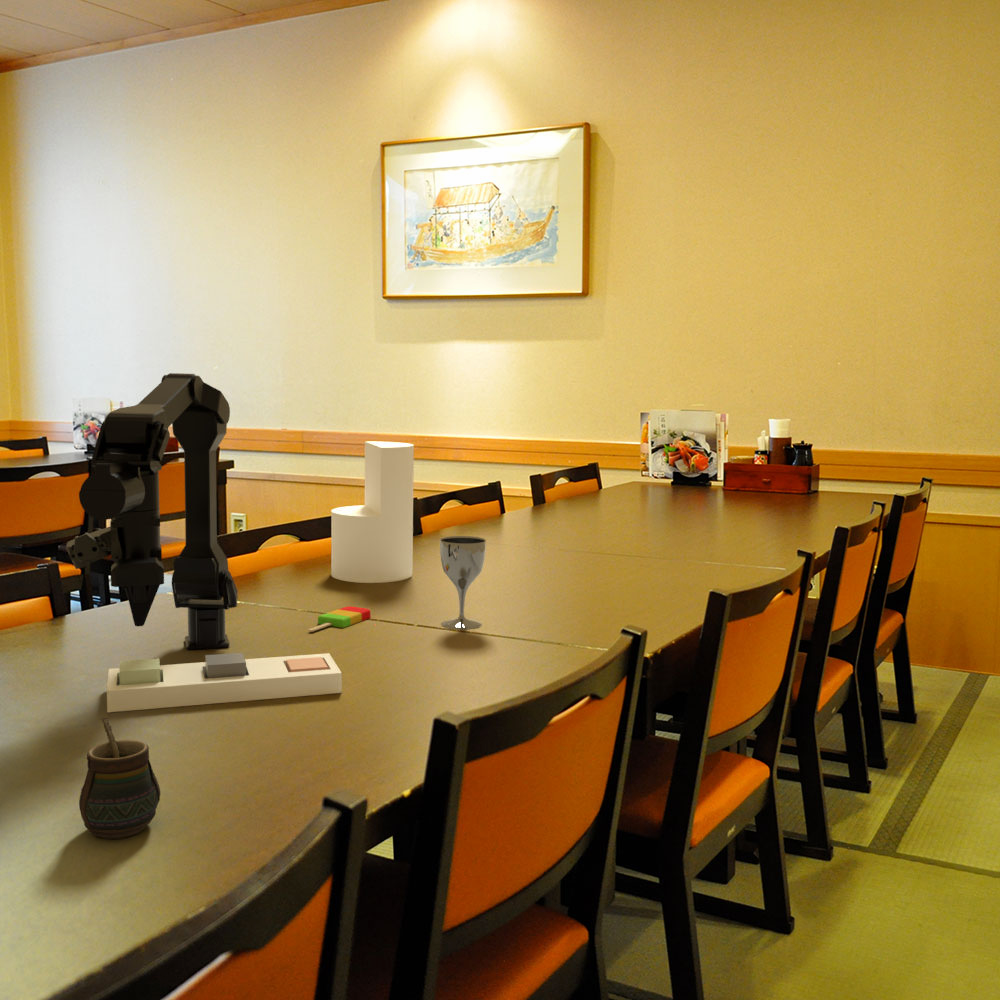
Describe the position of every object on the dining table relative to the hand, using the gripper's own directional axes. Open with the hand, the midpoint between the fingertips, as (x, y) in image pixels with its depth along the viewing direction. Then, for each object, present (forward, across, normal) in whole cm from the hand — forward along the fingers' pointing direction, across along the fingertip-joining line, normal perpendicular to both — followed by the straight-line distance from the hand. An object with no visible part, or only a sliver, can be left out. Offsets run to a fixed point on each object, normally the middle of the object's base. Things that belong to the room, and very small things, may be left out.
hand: (139, 625), depth 135 cm
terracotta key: (+9, 0, +22) cm, 24 cm away
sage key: (+8, 0, 0) cm, 8 cm away
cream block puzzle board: (+10, 0, +11) cm, 15 cm away
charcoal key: (+8, 0, +11) cm, 13 cm away
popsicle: (+11, -33, +32) cm, 47 cm away
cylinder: (+10, -73, +47) cm, 87 cm away
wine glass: (+10, -27, +53) cm, 60 cm away
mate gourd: (+10, +40, -2) cm, 41 cm away
